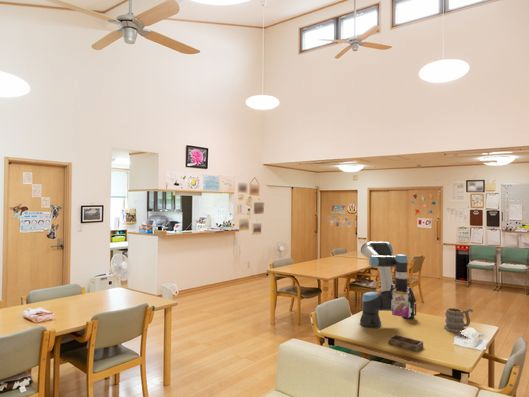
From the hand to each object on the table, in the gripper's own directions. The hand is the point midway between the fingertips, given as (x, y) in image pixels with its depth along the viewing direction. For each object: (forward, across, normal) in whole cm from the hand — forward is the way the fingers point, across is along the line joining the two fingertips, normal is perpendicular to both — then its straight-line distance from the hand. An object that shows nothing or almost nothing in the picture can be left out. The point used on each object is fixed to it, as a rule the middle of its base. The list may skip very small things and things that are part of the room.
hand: (401, 311), depth 253 cm
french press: (+18, -18, +50) cm, 56 cm away
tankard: (+18, +20, +49) cm, 56 cm away
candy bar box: (+3, 0, 0) cm, 3 cm away
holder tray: (+19, +7, -9) cm, 22 cm away
